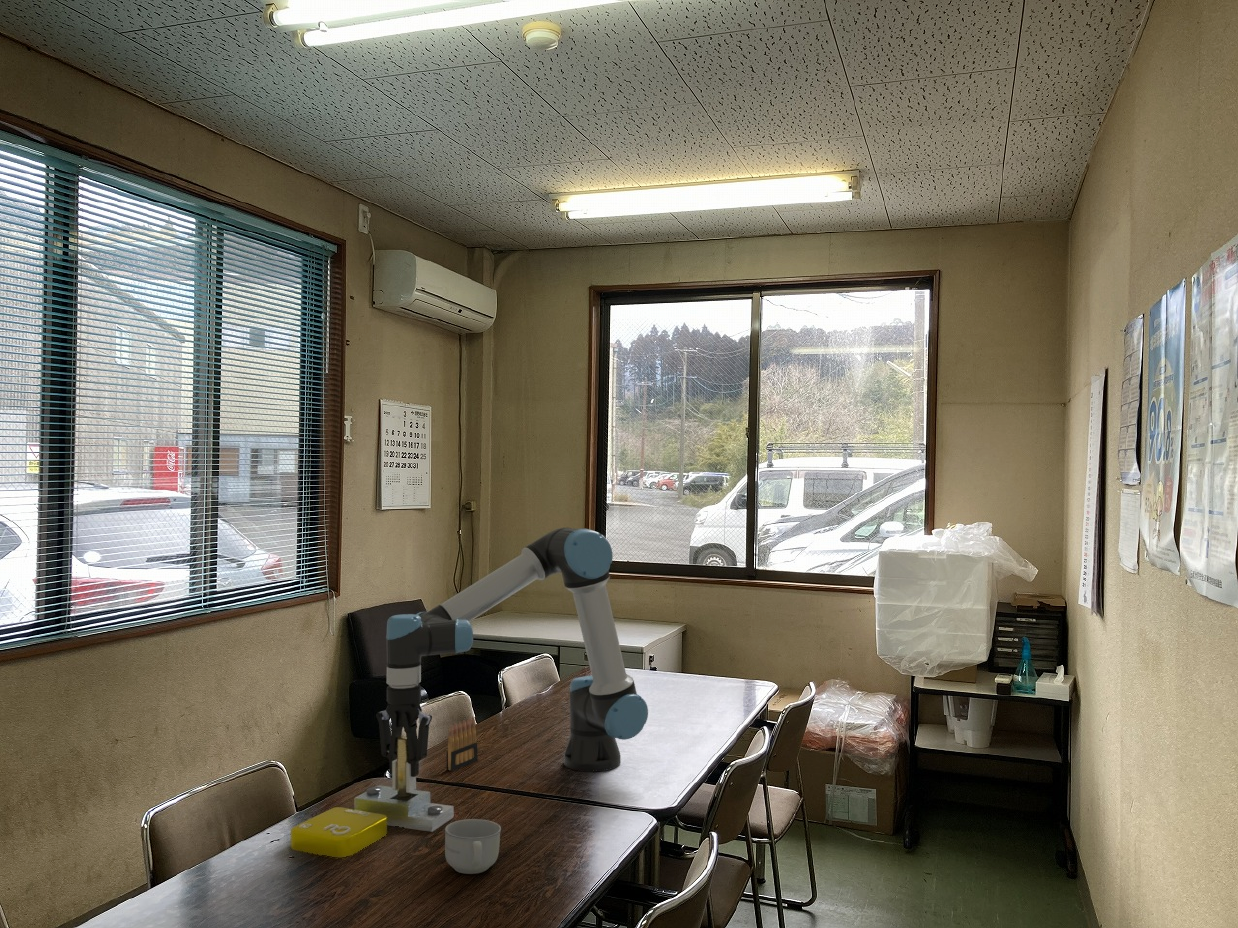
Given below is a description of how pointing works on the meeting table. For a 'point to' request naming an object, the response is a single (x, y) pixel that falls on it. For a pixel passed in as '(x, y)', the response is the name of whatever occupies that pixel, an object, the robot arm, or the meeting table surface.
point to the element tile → (338, 832)
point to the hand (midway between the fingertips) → (404, 789)
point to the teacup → (472, 845)
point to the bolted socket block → (404, 808)
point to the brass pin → (402, 768)
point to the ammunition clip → (462, 745)
